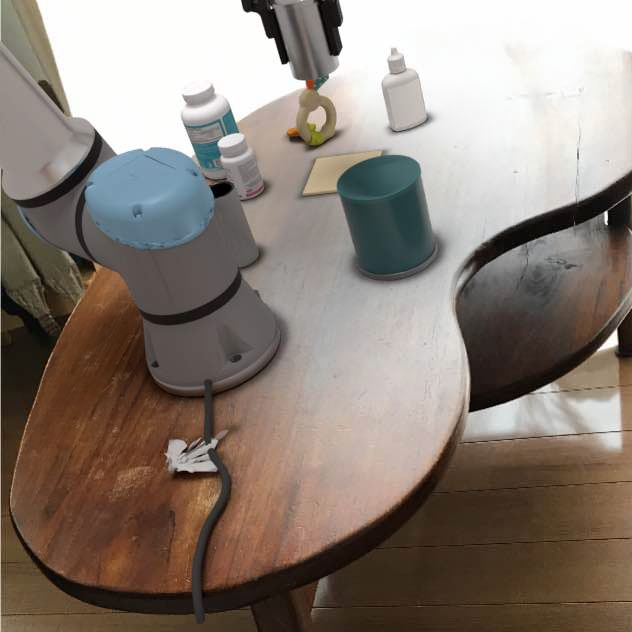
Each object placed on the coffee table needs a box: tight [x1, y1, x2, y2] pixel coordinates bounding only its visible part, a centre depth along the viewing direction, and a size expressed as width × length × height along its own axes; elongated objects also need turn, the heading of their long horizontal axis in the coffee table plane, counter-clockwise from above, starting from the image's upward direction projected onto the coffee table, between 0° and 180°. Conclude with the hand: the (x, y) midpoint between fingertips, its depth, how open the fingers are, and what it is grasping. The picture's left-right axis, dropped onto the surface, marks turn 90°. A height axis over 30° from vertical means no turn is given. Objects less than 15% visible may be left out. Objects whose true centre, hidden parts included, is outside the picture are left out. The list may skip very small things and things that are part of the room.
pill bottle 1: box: [180, 79, 240, 180], centre depth 131 cm, size 8×7×14 cm
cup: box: [269, 0, 340, 81], centre depth 113 cm, size 7×7×10 cm
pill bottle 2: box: [218, 132, 265, 201], centre depth 125 cm, size 5×5×8 cm
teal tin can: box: [337, 154, 439, 281], centre depth 103 cm, size 10×10×11 cm
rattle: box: [285, 74, 338, 146], centre depth 133 cm, size 8×8×12 cm
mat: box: [302, 149, 383, 197], centre depth 125 cm, size 10×10×1 cm
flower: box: [164, 429, 230, 476], centre depth 87 cm, size 8×8×3 cm
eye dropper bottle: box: [380, 45, 428, 132], centre depth 129 cm, size 4×6×12 cm
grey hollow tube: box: [208, 180, 260, 269], centre depth 111 cm, size 4×4×10 cm
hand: (312, 55), depth 115 cm, fingers closed on cup, 6 cm apart
